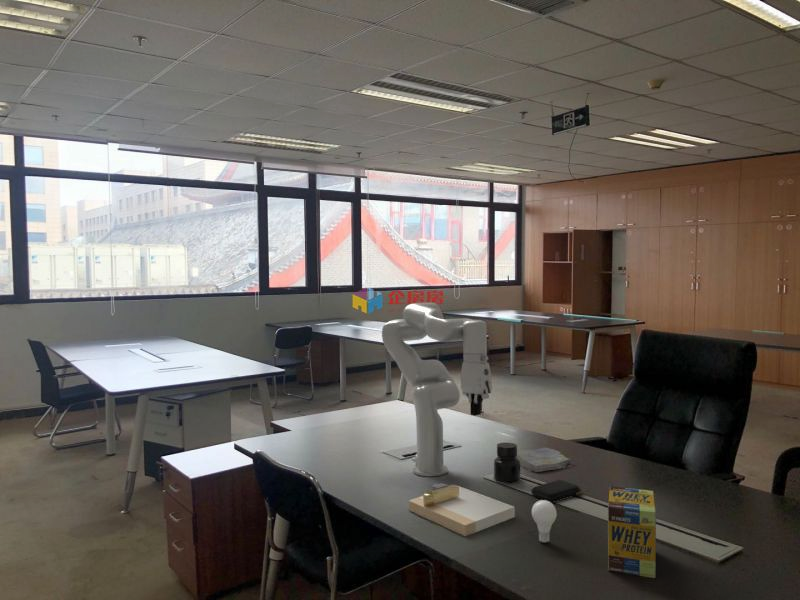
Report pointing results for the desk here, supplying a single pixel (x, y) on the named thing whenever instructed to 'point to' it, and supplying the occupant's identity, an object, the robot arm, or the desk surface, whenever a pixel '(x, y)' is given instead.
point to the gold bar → (440, 495)
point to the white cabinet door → (464, 511)
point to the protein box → (631, 531)
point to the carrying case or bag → (555, 490)
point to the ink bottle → (507, 463)
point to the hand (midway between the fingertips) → (475, 414)
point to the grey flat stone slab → (542, 459)
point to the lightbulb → (544, 518)
